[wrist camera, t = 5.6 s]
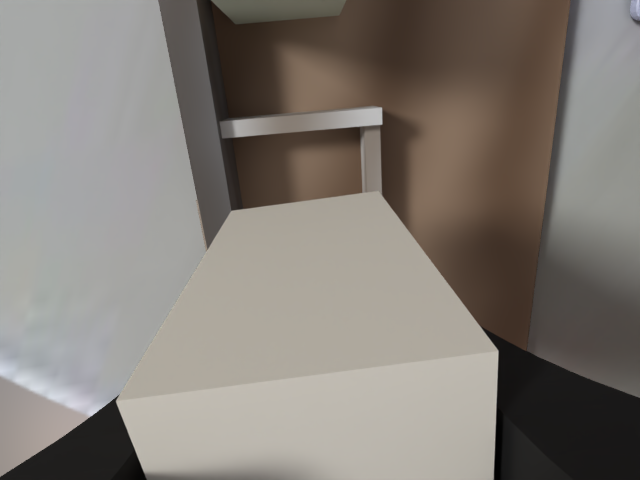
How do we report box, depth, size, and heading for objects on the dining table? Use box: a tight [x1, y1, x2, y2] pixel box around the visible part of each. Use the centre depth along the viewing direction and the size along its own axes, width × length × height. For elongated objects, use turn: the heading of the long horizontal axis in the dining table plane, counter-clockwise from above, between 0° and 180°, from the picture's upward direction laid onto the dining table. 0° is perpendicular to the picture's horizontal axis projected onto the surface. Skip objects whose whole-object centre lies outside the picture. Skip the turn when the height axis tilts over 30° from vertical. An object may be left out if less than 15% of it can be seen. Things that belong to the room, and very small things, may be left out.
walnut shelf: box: [158, 0, 571, 351], centre depth 17 cm, size 15×26×4 cm, turn 5°
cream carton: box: [116, 191, 499, 480], centre depth 8 cm, size 4×6×7 cm
